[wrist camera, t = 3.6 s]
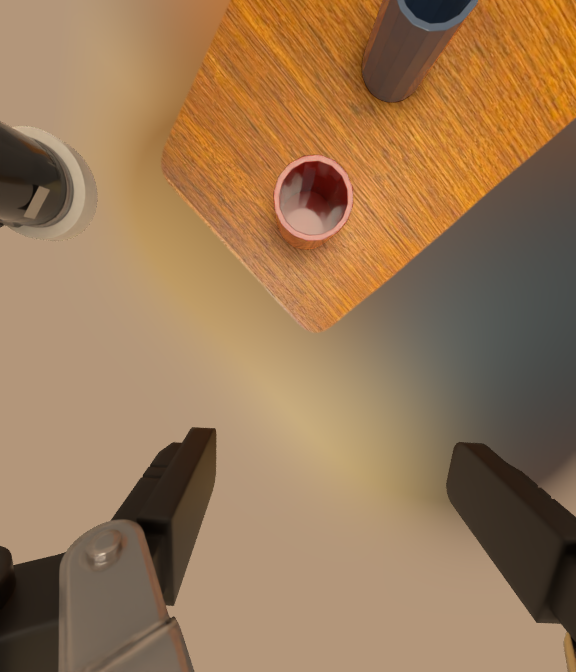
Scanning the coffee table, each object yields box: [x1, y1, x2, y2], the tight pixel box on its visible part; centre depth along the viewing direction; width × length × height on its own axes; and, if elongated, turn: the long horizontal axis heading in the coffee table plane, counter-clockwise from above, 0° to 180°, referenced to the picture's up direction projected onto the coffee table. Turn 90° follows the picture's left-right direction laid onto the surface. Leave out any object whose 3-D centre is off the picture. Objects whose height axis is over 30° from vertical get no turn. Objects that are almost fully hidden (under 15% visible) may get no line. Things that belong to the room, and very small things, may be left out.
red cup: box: [273, 155, 353, 250], centre depth 28 cm, size 7×7×9 cm
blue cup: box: [362, 0, 478, 102], centre depth 25 cm, size 7×7×9 cm
